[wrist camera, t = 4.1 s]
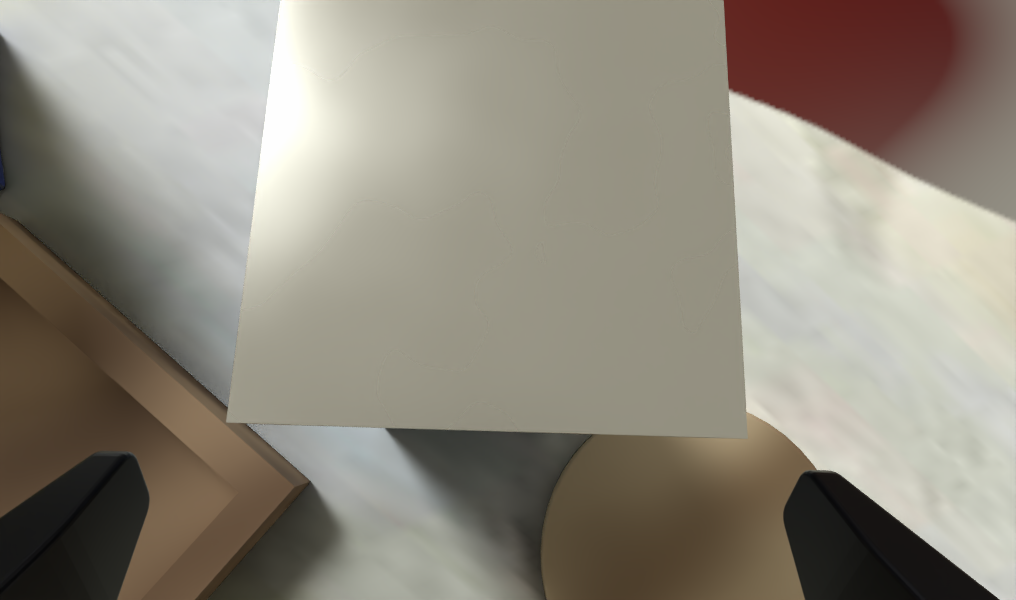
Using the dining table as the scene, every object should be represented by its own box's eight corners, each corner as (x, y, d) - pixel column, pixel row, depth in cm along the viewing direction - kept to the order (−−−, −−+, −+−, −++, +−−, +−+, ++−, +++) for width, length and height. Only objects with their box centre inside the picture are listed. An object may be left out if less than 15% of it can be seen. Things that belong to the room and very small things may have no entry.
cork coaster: (887, 530, 19) (906, 535, 18) (725, 798, 17) (738, 816, 16) (659, 343, 19) (668, 339, 19) (477, 579, 17) (478, 586, 17)
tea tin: (552, 435, 18) (747, 438, 6) (380, 430, 18) (225, 422, 6) (554, 271, 20) (723, 0, 7) (392, 262, 19) (286, -40, 7)
